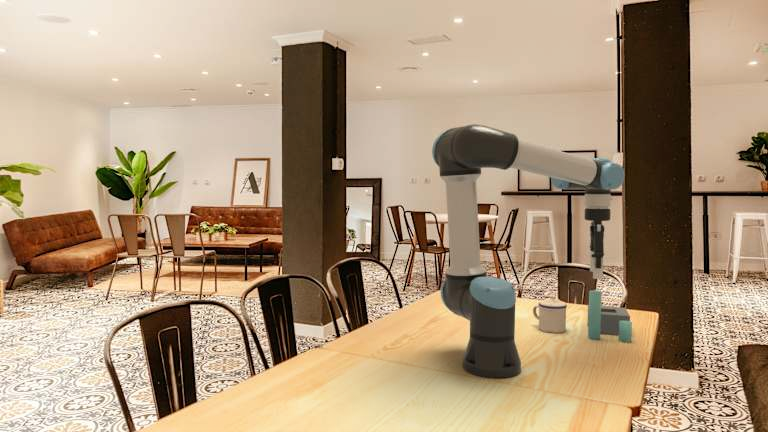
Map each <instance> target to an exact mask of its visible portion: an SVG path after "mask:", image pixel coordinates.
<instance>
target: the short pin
mask: <svg viewBox="0 0 768 432" xmlns="http://www.w3.org/2000/svg"><path fill="white" fill-rule="evenodd" d="M632 328H633V322H632V321H631V320H630V321H624V320H622V321H619V335H618V341H619V342H622V343H626V342H627V344H628V342H629V343H632V335H633V333H632V332H633V331H632V330H633V329H632Z"/></svg>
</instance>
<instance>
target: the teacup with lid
mask: <svg viewBox="0 0 768 432" xmlns="http://www.w3.org/2000/svg"><path fill="white" fill-rule="evenodd" d="M567 307H568V305H567V303H566V302H565V301H562V300H560V299H559V298H557V295H555V294H550V295H549V297H547V298H545V299H542V300H539V302H538V304H537V305H534V307H532V313H533V316H534V318H535V319H536V320H538V329H539V330H540V331H542V332H545V333H555V334H558V333H560V334H561V333H563V332H565V331H566V329H567V328H566V327H567V326H566V325H567V321H566V320H567ZM537 309H538V314H537Z"/></svg>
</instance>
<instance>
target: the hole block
mask: <svg viewBox="0 0 768 432" xmlns="http://www.w3.org/2000/svg"><path fill="white" fill-rule="evenodd" d="M622 320H624V321H630V322H631V315H630V314H629V312H628V310H627V309H626V307H619V306H618V307H617V306H603V305H601V330H600V335H609V336H610V335H611V336H613V335H614V336H619V321H622ZM586 321H587V325H588V323H589V304H588V305H587V320H586Z"/></svg>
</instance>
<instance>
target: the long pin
mask: <svg viewBox="0 0 768 432" xmlns="http://www.w3.org/2000/svg"><path fill="white" fill-rule="evenodd" d="M588 305H589V323H588V324H587V328H588V329H587V330H588V331H587V333H588V334H587V335H588V336H587V338H588V339H589V340H594V341H595V340H596V341H598V340H601V334H600V330H601V306H602V291H601V290H595V289H593V290H592V289H591V290H589V292H588Z"/></svg>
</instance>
